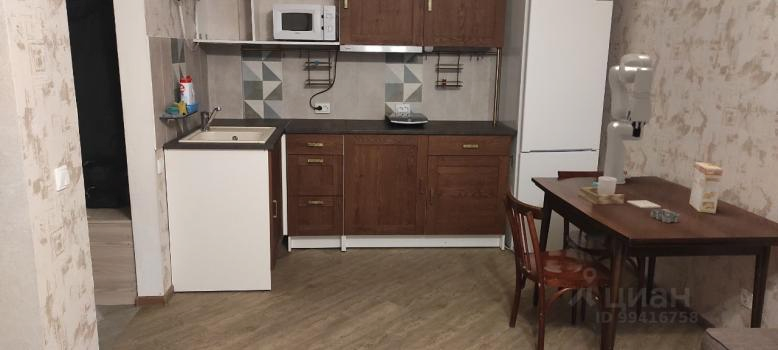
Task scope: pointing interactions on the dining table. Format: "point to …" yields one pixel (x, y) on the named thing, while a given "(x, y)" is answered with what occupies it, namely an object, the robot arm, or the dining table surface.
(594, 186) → the teal block
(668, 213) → the grey stone ruin model
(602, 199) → the oak bay
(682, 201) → the dining table surface
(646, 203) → the cream tile
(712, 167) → the coffeecake box
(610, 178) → the white cup
